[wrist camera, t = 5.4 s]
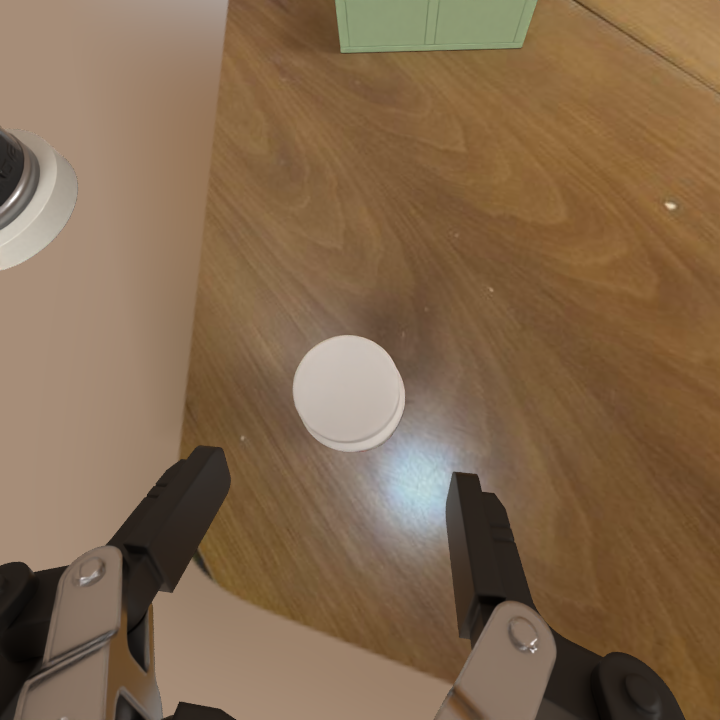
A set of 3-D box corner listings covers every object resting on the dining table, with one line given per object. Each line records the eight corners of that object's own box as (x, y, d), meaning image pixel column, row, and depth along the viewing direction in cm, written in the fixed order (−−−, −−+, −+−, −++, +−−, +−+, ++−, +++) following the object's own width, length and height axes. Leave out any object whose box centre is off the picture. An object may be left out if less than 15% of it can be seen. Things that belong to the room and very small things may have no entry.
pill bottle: (307, 406, 20) (255, 377, 12) (366, 358, 21) (353, 301, 13) (355, 469, 19) (331, 482, 11) (416, 417, 20) (436, 393, 12)
